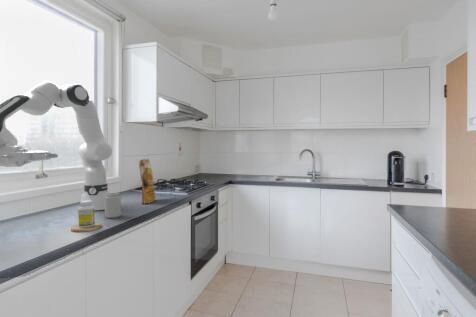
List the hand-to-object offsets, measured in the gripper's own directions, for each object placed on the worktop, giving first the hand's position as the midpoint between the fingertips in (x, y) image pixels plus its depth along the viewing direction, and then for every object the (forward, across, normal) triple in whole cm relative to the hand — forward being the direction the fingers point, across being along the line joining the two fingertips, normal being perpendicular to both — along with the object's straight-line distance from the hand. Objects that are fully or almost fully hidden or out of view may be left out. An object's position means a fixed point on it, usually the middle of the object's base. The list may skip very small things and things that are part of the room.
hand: (51, 155), depth 118 cm
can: (+19, +19, +32) cm, 42 cm away
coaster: (+13, 0, +32) cm, 35 cm away
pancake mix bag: (+31, +56, +32) cm, 72 cm away
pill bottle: (+13, 0, +31) cm, 34 cm away
